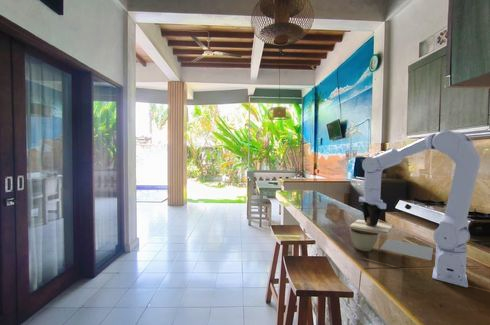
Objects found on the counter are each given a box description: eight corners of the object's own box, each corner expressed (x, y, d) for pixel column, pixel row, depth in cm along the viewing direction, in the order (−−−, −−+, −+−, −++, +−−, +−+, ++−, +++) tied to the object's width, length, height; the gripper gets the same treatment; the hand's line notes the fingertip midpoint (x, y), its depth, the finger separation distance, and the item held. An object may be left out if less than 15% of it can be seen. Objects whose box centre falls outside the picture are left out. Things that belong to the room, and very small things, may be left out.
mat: (431, 261, 88) (431, 260, 88) (379, 249, 98) (379, 248, 98) (433, 249, 100) (433, 248, 100) (387, 239, 110) (387, 238, 110)
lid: (386, 235, 89) (387, 224, 89) (348, 228, 97) (348, 218, 97) (393, 226, 99) (393, 216, 99) (358, 221, 107) (358, 212, 107)
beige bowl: (381, 255, 92) (382, 236, 92) (352, 252, 94) (353, 233, 94) (373, 246, 102) (374, 228, 102) (346, 243, 104) (347, 226, 104)
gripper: (395, 191, 91) (393, 229, 91) (371, 186, 105) (369, 218, 105) (376, 191, 90) (374, 229, 90) (354, 186, 104) (353, 218, 105)
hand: (370, 223), depth 98 cm, fingers closed on lid, 3 cm apart
